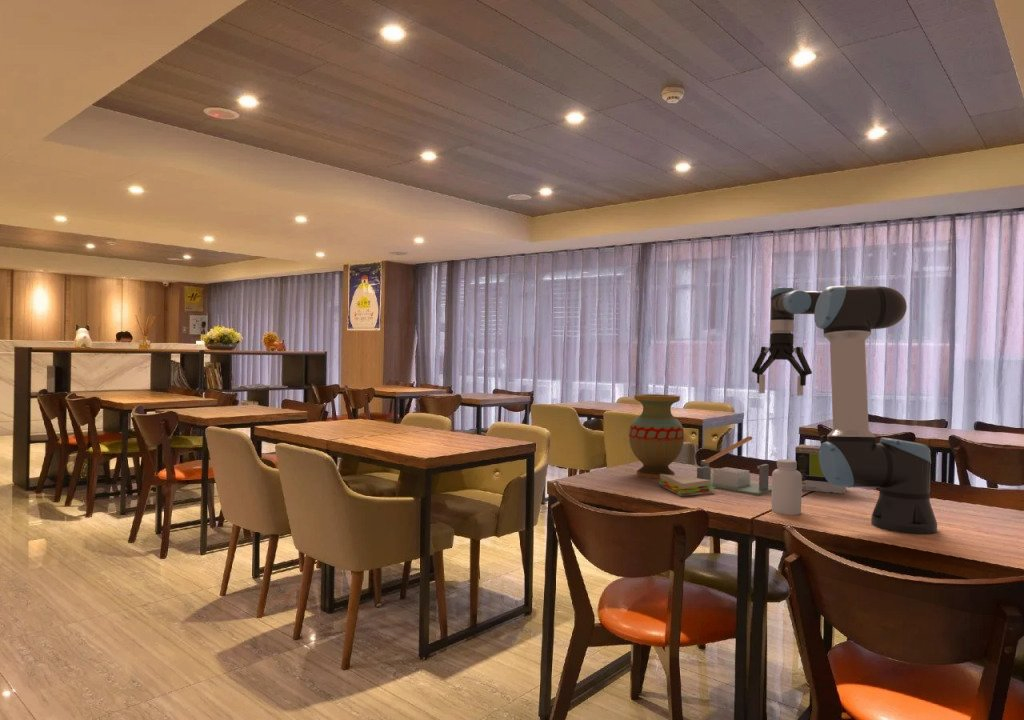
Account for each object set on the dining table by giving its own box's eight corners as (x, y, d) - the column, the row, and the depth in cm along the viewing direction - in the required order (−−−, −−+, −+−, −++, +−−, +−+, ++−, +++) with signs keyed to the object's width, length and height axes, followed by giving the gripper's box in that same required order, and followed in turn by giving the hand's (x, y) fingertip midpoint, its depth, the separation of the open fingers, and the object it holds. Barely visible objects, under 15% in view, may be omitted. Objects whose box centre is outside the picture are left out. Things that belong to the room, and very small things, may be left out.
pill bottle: (766, 512, 196) (767, 460, 196) (777, 508, 202) (778, 457, 202) (794, 517, 190) (795, 463, 190) (805, 513, 196) (806, 460, 196)
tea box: (846, 490, 233) (847, 446, 232) (843, 495, 224) (844, 449, 224) (799, 485, 241) (800, 443, 241) (794, 489, 232) (795, 446, 232)
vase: (621, 472, 260) (623, 393, 260) (672, 472, 263) (673, 394, 262) (637, 482, 241) (638, 396, 241) (691, 481, 243) (693, 397, 243)
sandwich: (686, 486, 236) (686, 472, 236) (721, 498, 218) (721, 482, 218) (646, 488, 231) (647, 474, 231) (679, 500, 213) (679, 484, 213)
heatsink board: (681, 484, 238) (681, 457, 238) (705, 479, 249) (705, 453, 249) (757, 497, 218) (758, 468, 218) (780, 490, 229) (780, 463, 229)
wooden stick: (700, 467, 240) (697, 462, 241) (705, 466, 242) (702, 461, 243) (749, 441, 227) (745, 435, 228) (754, 440, 229) (751, 434, 230)
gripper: (823, 332, 229) (821, 396, 229) (753, 333, 248) (752, 391, 248) (813, 332, 224) (811, 396, 224) (742, 332, 242) (741, 392, 243)
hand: (780, 394), depth 236 cm, fingers open, 13 cm apart
